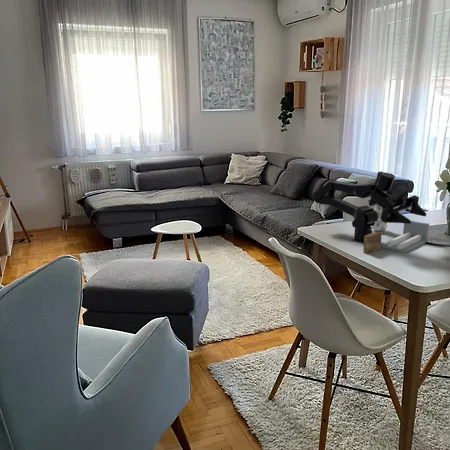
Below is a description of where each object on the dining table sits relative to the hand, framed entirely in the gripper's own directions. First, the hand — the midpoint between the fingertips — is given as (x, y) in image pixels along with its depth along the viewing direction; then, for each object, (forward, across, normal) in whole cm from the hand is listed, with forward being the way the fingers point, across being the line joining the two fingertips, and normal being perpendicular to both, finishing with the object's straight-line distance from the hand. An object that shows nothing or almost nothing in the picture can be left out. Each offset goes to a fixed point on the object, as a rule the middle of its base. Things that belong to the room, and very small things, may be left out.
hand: (418, 218), depth 167 cm
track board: (-5, +5, +18) cm, 19 cm away
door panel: (-9, -11, +16) cm, 21 cm away
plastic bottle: (-24, +14, +25) cm, 37 cm away
